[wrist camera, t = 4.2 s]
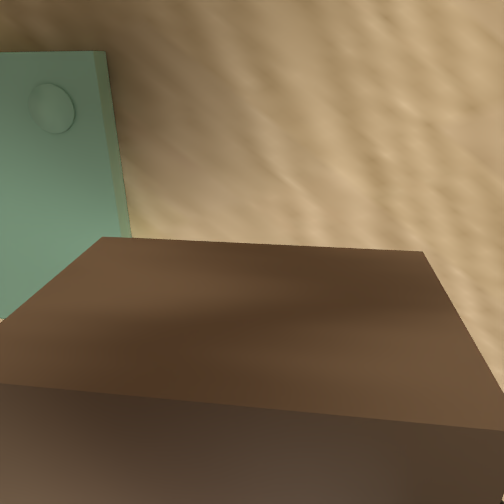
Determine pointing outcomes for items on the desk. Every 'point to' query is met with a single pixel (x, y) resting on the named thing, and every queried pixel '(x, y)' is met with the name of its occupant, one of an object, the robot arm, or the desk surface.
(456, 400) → the walnut brick
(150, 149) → the desk surface
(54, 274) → the baseplate
